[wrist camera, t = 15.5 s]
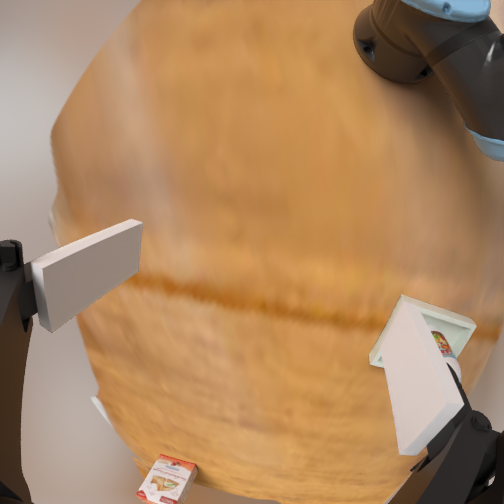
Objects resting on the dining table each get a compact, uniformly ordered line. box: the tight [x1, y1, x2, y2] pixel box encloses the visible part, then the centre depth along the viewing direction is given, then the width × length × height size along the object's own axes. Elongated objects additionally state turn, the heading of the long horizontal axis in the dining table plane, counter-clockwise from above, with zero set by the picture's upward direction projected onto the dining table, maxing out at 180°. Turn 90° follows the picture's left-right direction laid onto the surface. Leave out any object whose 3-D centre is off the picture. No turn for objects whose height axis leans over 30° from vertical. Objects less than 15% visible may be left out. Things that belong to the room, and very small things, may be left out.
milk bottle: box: [427, 324, 462, 383], centre depth 38 cm, size 8×8×20 cm
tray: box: [369, 294, 477, 368], centre depth 46 cm, size 14×18×3 cm
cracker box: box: [136, 454, 198, 504], centre depth 70 cm, size 14×6×21 cm, turn 93°
